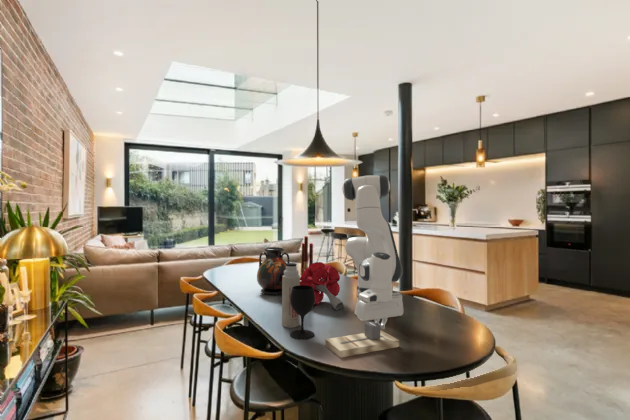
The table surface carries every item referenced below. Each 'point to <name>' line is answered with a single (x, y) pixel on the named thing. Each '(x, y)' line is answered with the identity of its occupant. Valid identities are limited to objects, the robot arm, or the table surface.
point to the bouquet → (322, 282)
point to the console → (360, 344)
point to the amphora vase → (272, 271)
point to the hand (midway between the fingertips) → (380, 328)
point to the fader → (372, 330)
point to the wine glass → (302, 308)
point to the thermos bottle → (288, 283)
